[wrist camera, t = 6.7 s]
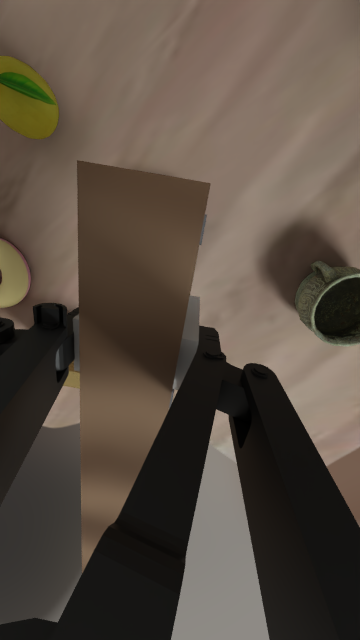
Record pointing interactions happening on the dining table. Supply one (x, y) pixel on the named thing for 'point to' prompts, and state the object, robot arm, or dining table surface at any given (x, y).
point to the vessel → (331, 303)
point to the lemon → (26, 100)
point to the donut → (13, 275)
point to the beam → (129, 323)
